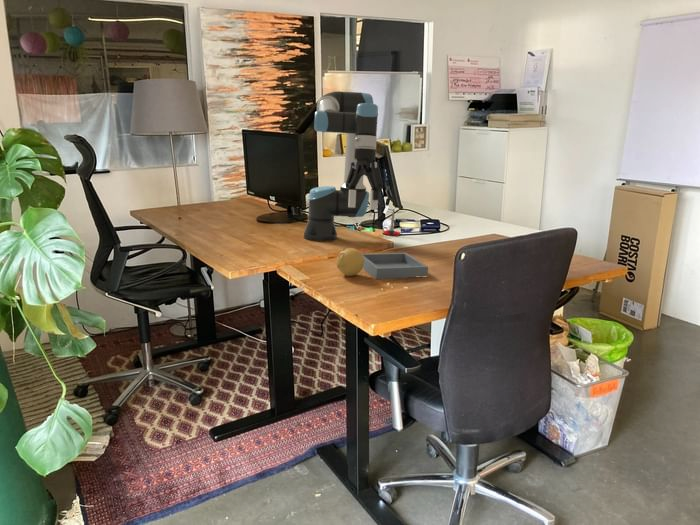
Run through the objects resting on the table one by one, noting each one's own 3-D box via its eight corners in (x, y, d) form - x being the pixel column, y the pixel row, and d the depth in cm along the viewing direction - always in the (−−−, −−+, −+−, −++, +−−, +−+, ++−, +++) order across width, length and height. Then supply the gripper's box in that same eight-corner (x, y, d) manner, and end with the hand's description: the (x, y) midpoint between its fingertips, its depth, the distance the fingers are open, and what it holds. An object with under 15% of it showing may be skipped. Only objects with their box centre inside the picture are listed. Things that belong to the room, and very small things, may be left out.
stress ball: (365, 278, 199) (359, 255, 204) (368, 263, 190) (361, 240, 195) (339, 282, 197) (332, 260, 202) (340, 268, 188) (334, 244, 194)
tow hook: (384, 232, 274) (382, 235, 266) (386, 206, 272) (384, 208, 263) (400, 233, 273) (399, 236, 264) (403, 208, 271) (402, 210, 262)
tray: (357, 263, 213) (358, 254, 212) (405, 262, 219) (405, 252, 218) (376, 279, 195) (376, 268, 194) (427, 277, 201) (428, 266, 200)
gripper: (337, 148, 203) (335, 206, 206) (377, 146, 183) (374, 210, 186) (354, 150, 208) (351, 206, 210) (395, 148, 187) (391, 210, 190)
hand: (362, 208), depth 198 cm, fingers open, 13 cm apart
